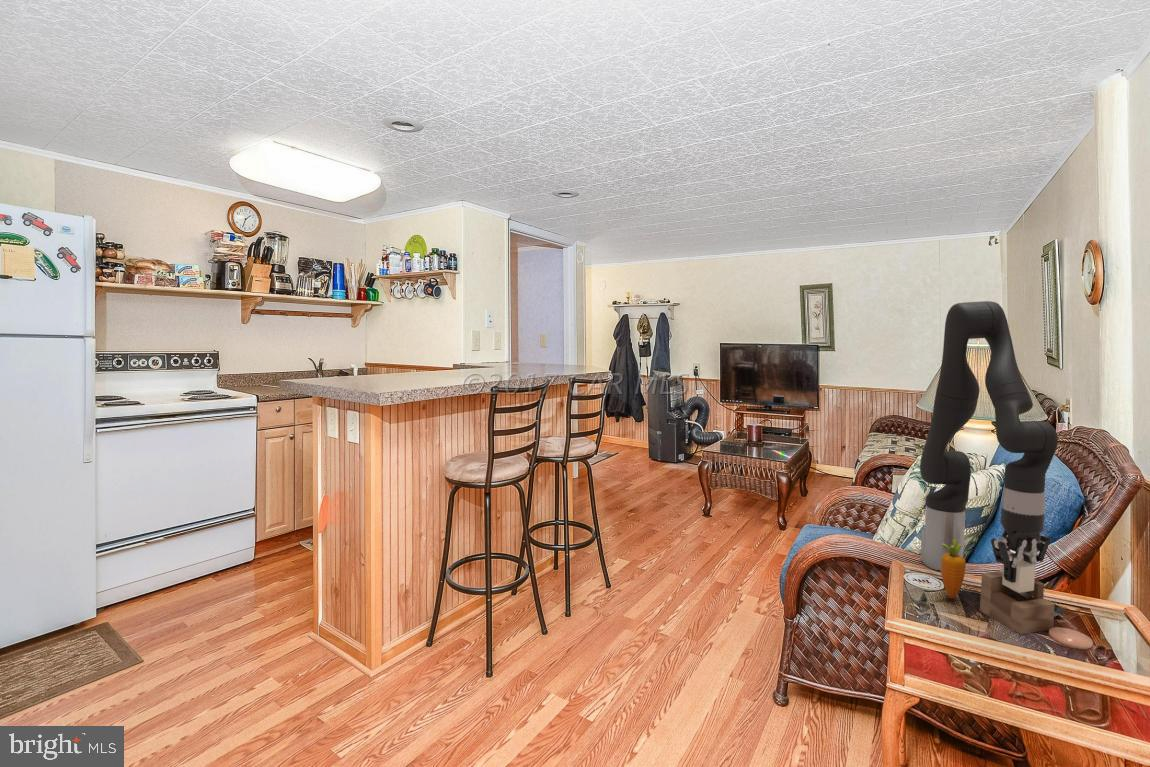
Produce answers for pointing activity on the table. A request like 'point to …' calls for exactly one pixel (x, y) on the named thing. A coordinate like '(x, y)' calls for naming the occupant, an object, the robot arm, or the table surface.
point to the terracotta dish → (1070, 638)
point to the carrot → (952, 569)
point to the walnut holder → (1015, 605)
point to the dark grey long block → (1056, 608)
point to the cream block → (1022, 577)
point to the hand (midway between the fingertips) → (1018, 579)
